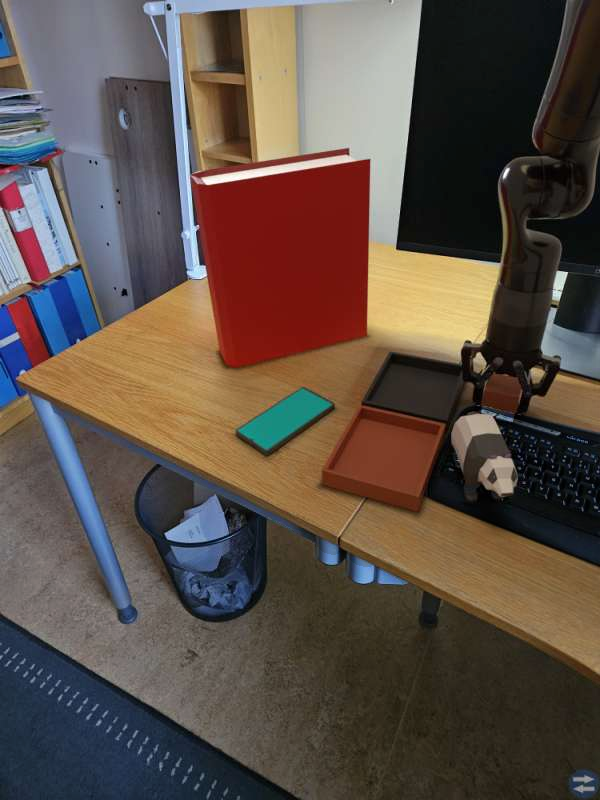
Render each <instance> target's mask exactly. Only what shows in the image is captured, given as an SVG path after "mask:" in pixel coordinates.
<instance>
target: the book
mask: <svg viewBox="0 0 600 800" xmlns="http://www.w3.org/2000/svg"><path fill="white" fill-rule="evenodd" d="M189 177H190V183H191V184H190V185H191V189H192V196H193V200H194V207H195V212H196V213H195V214H196V219H197V224H198V231H199V236H200V243H201V249H202V254H203V259H204V266H205V272H206V273H205V274H206V278H207V285H208V290H209V295H210V301H211V307H212V313H213V319H214V326H215V331H216V337H217V342H218V349H219V352H220V354H221V356H222V359H223V361H224V363H225V365H226V366H227V367H231V368H241V367H244V366H249V365H253V364H257V363H261V362H265V361H270V360H273V359H277V358H282V357H285V356H289V355H294V354H297V353H301V352H305V351H310V350H314V349H317V348H322V347H325V346H330V345H335V344H338V343H342V342H346V341H351V340H354V339H359V338H363V337H366V336H368V306H369V304H368V303H369V300H368V299H369V260H370V259H369V256H370V255H369V254H370V249H369V248H370V204H371V201H370V200H371V199H370V198H371V158H367V159H365V158H364V159H360V160H357V159H355V158H354V157H352V156H350V147H346V148H338V149H331V150H325V151H321V152H313V153H307V154H301V155H295V156H294V155H293V156H287V157H281V158H274V159H267V160H261V161H255V162H249V163H243V164H236V165H230V166H223V167H217V168H216V167H215V168H210V169H209V168H208V169H204V170H197V171H195V172H193V173H190V174H189Z"/></svg>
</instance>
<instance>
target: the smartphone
mask: <svg viewBox="0 0 600 800" xmlns="http://www.w3.org/2000/svg"><path fill="white" fill-rule="evenodd" d="M335 408H336V403H335V402H333V401H332V400H330V399H328V398H326V397H324V396H323V395H321V394H318V393H317V392H315V391H313V390H311V389H310V388H307V387H305V386H301V387H300V388H298V389H297V390H295V391H293V392H292V393H290V394H289V395H288V396H286V397H284V398H282V399H281V400H280V401H278V402H276V403H275V404H274V405H272V406H270V407H269V408H267V409H266V410H264V411H262V412H261V413H260V414H257V416H254V417H253V418H252V419H250V420H249V421H246V423H244V424H243V425H241V426H239V427H238V428H236V429H235V435H236V436H237V437H238V438H240V439H241V440H243V441H244V442H245V443H247V444H248V445H250V446H251V447H253V448H254V449H256V450H258V451H259V452H260V453H262V454H263V455H265V456H269V455H270V454H272V453H273V452H275V451H277V450H278V449H279V448H281V447H282V446H284V445H285V444H287V443H288V442H290V441H291V440H292V439H293V438H295V437H296V436H297V435H299V434H300V433H302V432H303V431H304V430H306V429H308V428H309V427H311V426H312V425H313V424H314V423H316V422H317V421H319V420H321V419H322V418H323V417H325V416H326V415H327V414H329V413H330V412H332V411H333V410H335Z"/></svg>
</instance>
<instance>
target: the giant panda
mask: <svg viewBox="0 0 600 800" xmlns="http://www.w3.org/2000/svg"><path fill="white" fill-rule="evenodd" d="M450 436H451V437H450V438H451V440H450V441H451V446H452V445H453V447H454V449H455V451H456V454H457V457H458V460H459V463H460V466H461V469H460V470H461V472H462V477H463V476H464V477H463V480H464V479H465V486H466V487H467V488H468V489H475V488H478V489H479V487H481V486H483V487H484V488H485V489H486V490H488V491H489V490H493V491H495V492H496V493H497V494H498V495H497V494H496V493H494V494H493V493H490V496H491V497H492V499H494V500H498V501H499V500H503V499H504V498H505V497H512V496H514V488H516V487H517V483H518V479H519V475H518V473H517V469H516V466H515V463H514V461H513V459H512V455H513V454H512V453H511V451H510V449H509V447H508V445H507V443H506V441H505V439H504V437H503V435H502V432H501V430H500V427H499V425H498V424H497V422H496V420H495V419H494V418H493V416H492V415H490V414H480V412H477V411H470V412H467V413H466V415H462V416H460V417H459V418H458V419H457V420H456V421H455V422H454V424H453V428H452V431H451V433H450ZM453 447H452V448H453ZM462 489H463V495H464V497H465V499H466V501H467V502H475V501H478V491H477V492H474V493H468V492H466V490H465V489H464V487H463V488H462Z"/></svg>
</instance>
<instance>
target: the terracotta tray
mask: <svg viewBox="0 0 600 800" xmlns="http://www.w3.org/2000/svg"><path fill="white" fill-rule="evenodd" d="M445 427H446V424H444V423H439V422H435V421H430V420H426V419H421V418H417V417H412V416H408V415H403V414H399V413H394V412H390V411H385V410H381V409H376V408H372V407H367V406H363V405H361V404H359V405H358V406H357V408H356V410H355V411H354V413H353V415H352V417H351V418H350V420H349V422H348V424H347V426H346V427H345V429H344V431H343V433H341V436H340V438H339V440H338V442H337V443H336V445H335V447H334V448H333V450H332V452H331V454H330V455H329V457H328V459H327V460H326V462H325V464H324V466H323V468H322V469H321V481H322V483H321V484H322V486H324V487H328V488H332V489H335V490H338V491H343V492H345V493H350V494H354V495H357V496H361V497H364V498H367V499H371V500H374V501H378V502H382V503H385V504H388V505H392V506H395V507H399V508H403V509H407V510H410V511H414V512H419V509H420V506H421V504H422V501H423V498H424V495H425V493H426V489H427V487H428V485H429V481H430V479H431V475H432V473H433V470H434V467H435V464H436V462H437V459H438V456H439V453H440V450H441V448H442V445H443V442H444V439H445V435H446V434H445ZM444 434H445V435H444Z"/></svg>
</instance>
